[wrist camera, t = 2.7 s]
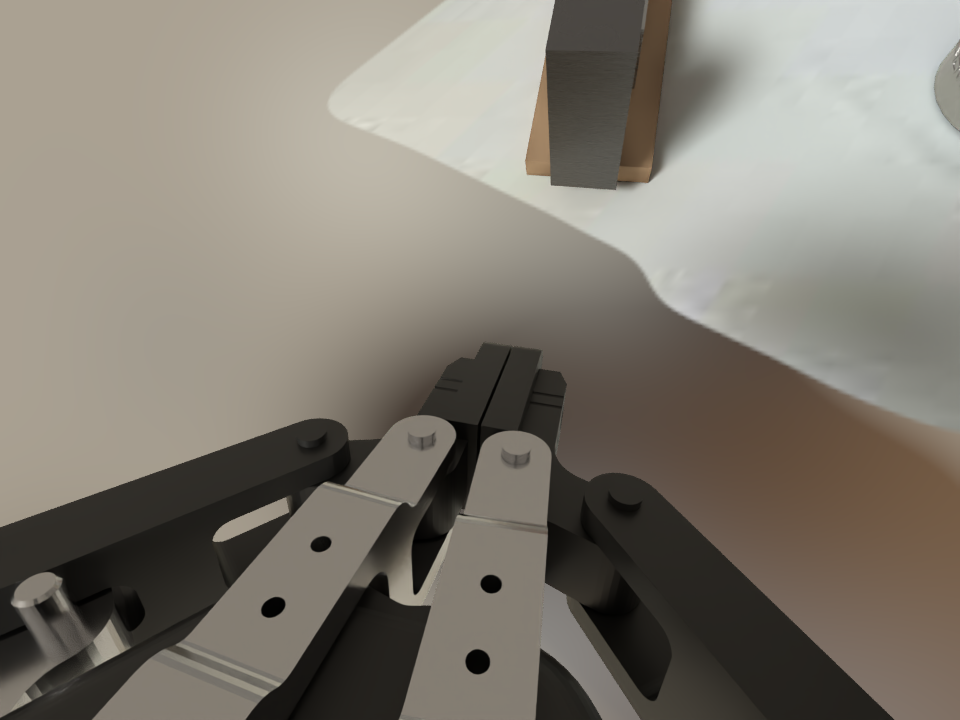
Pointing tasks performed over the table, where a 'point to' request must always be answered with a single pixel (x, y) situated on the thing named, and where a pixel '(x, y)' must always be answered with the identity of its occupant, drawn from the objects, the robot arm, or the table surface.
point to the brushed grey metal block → (590, 88)
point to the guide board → (641, 105)
